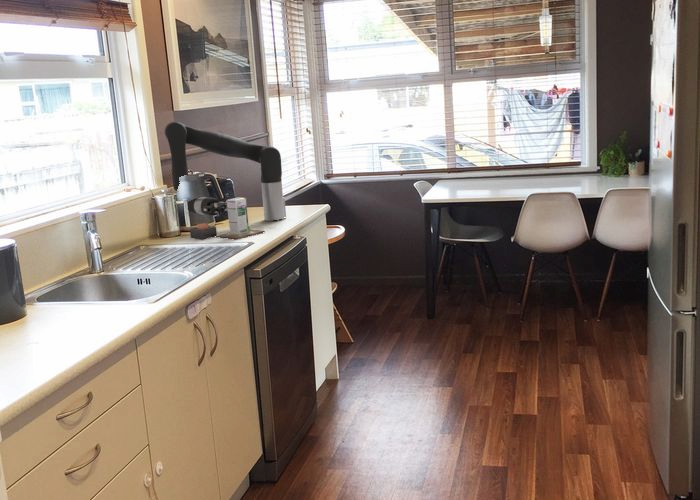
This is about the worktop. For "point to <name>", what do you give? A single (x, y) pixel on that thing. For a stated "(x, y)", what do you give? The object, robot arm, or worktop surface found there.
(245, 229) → the syrup box
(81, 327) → the worktop surface
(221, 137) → the robot arm
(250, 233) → the board
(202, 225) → the button
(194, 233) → the button housing
